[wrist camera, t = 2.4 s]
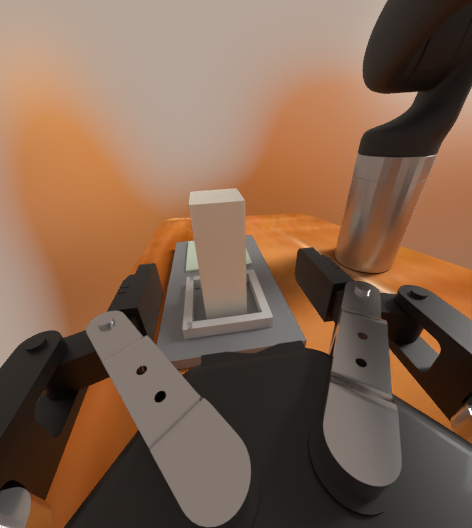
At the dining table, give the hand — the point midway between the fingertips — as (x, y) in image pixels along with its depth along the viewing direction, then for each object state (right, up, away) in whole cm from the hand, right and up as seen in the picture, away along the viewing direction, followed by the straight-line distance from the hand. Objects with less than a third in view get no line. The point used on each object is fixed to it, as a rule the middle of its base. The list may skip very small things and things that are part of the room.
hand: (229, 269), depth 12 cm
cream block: (-1, -5, +16) cm, 17 cm away
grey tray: (-2, -3, +23) cm, 23 cm away
